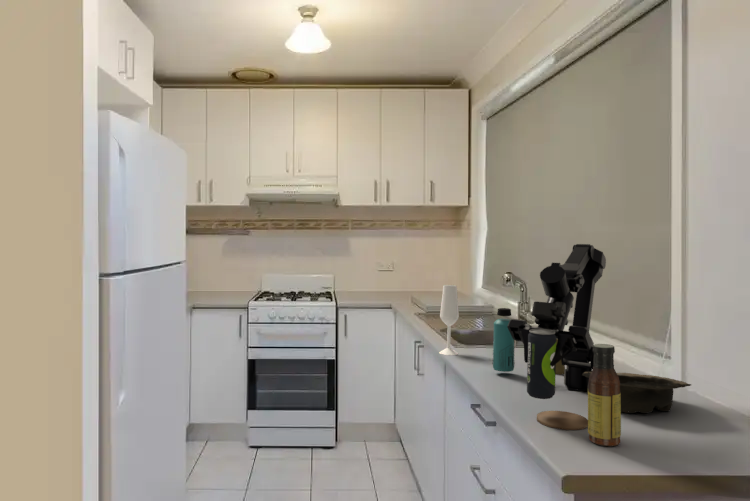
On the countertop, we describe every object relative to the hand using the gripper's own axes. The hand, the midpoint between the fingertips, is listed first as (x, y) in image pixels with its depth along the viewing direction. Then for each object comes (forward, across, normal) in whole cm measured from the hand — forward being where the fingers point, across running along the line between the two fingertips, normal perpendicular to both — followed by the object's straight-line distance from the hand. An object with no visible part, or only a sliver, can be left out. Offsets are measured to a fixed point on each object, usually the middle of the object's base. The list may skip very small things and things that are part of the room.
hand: (538, 363), depth 130 cm
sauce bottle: (+13, +16, +5) cm, 21 cm away
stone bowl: (-10, +14, +29) cm, 33 cm away
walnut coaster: (+8, +5, +10) cm, 14 cm away
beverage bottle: (-15, -24, +34) cm, 44 cm away
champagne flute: (-26, -53, +45) cm, 74 cm away
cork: (-24, -14, +43) cm, 51 cm away
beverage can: (+4, 0, +7) cm, 8 cm away
